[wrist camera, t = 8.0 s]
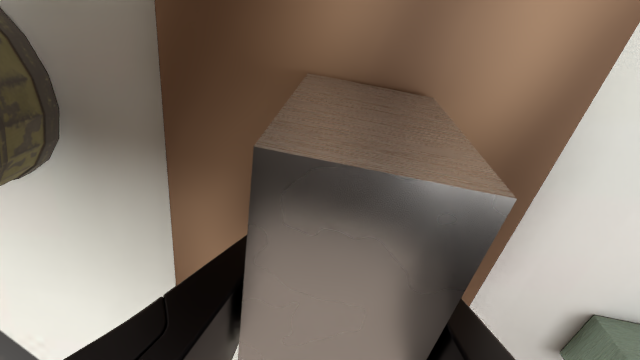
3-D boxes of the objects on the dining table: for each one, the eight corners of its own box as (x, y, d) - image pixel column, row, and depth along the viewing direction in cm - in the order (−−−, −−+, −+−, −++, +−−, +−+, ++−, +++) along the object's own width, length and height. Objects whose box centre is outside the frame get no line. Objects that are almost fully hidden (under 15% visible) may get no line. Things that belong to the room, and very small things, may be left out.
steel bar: (433, 98, 10) (516, 198, 5) (370, 278, 14) (378, 443, 9) (307, 72, 10) (253, 146, 5) (280, 260, 14) (234, 414, 9)
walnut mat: (670, -59, 8) (690, -64, 8) (435, 347, 17) (438, 357, 17) (154, -160, 9) (142, -170, 8) (182, 296, 17) (177, 305, 17)
